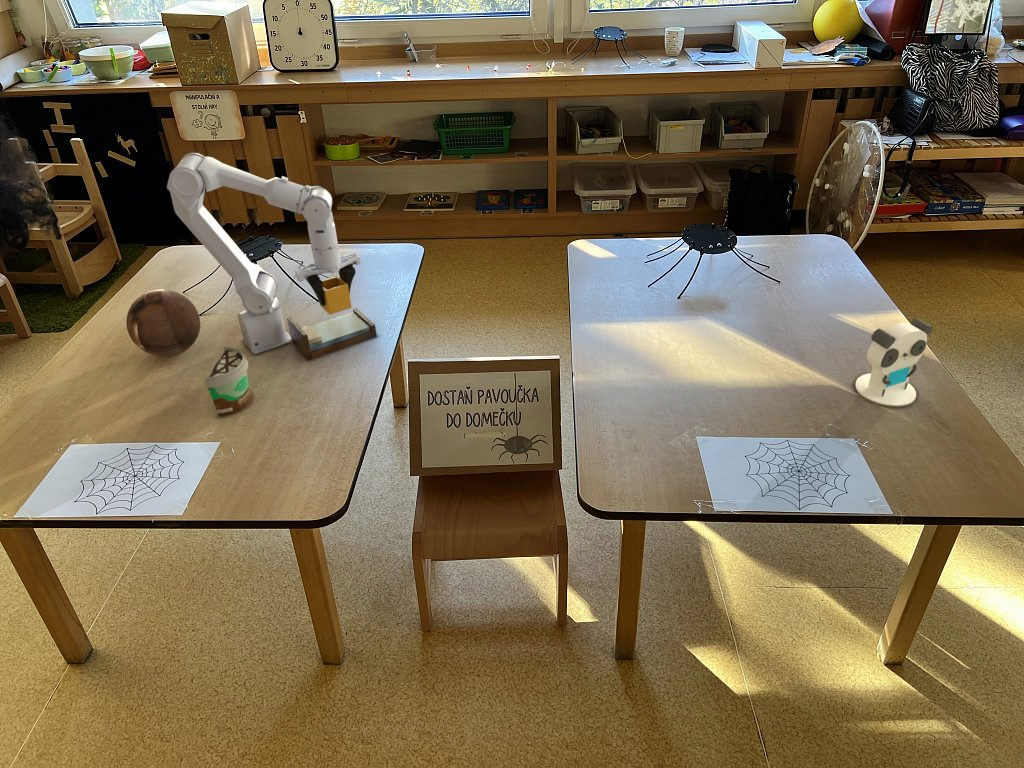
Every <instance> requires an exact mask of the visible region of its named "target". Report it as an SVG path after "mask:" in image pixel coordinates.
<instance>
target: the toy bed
mask: <svg viewBox="0 0 1024 768" xmlns="http://www.w3.org/2000/svg"><path fill="white" fill-rule="evenodd" d="M285 318H286V323H287V327H288V331H289V332H288V333H289V335H290V336H291V340H292V342H291V343H292V344H293V345H294V346H295V347H296V348H297V350H298V351H299V352H300V353H301V354H302V355H303V356H304V357H305V358H306V360H307V361H311V360H314V359H316V358H319V357H322V356H325V355H328V354H331V353H334V352H338V351H340V350H342V349H345V348H348V347H351V346H353V345H356V344H359V343H363V342H365V341H368V340H371V339H373V338H377V336H378V335H377V329H376V328H377V327H376V324H375V323H374V322H373V321H371V319H369V318H368V316H366V315H365V314H364V313H363V312H362V311H361V310H360V309H358V308H357V307H355V308H353V309H352V311H351V312H348V313H345V314H343V315H340V316H337V317H334V318H331V319H327V320H324V321H322V322H317V323H316V324H313V325H311V324H309V325H306V326H305V325H304V326H303V327H301V326H300V324H298V323H297V322H296V320H294V319H293V318H292V316H287V317H285Z"/></svg>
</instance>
